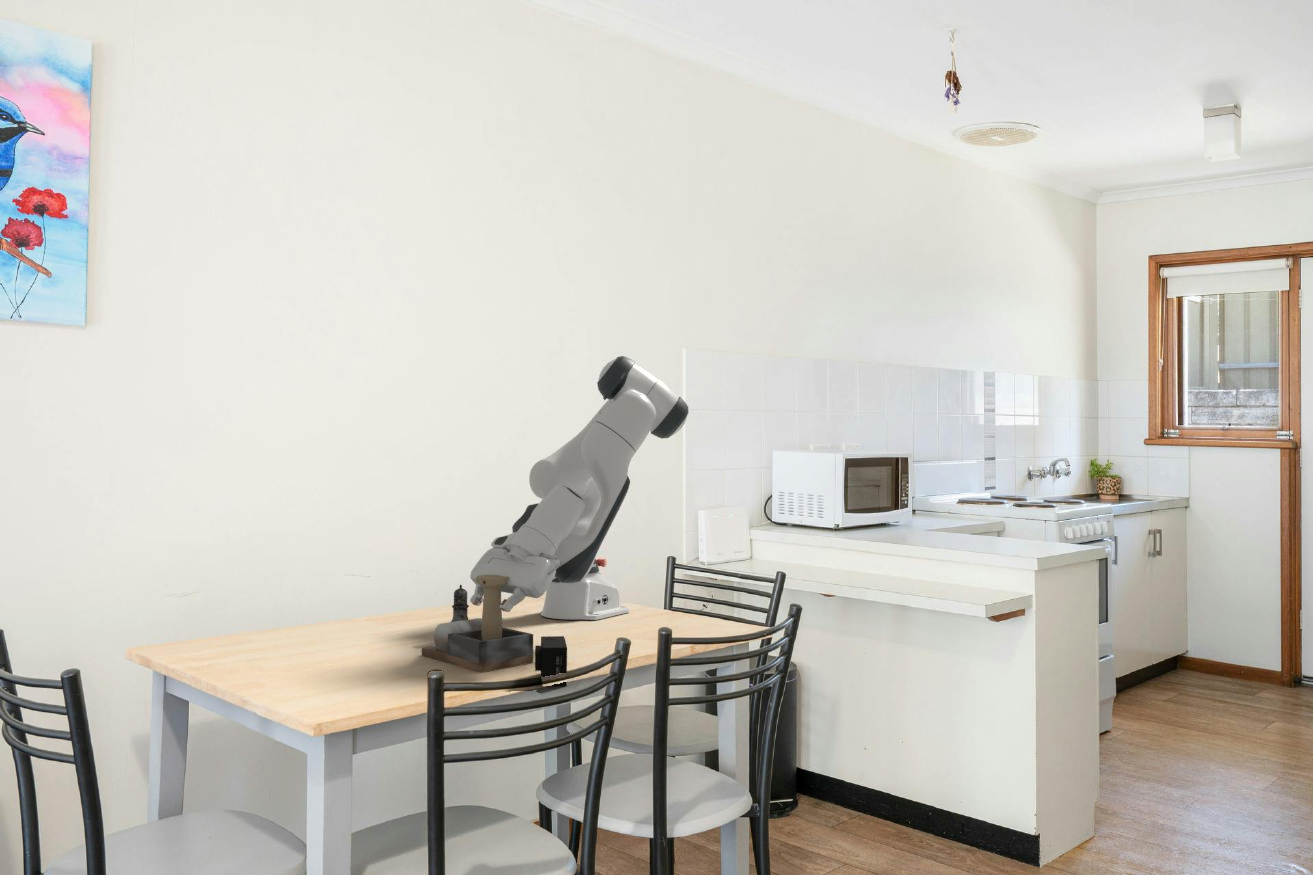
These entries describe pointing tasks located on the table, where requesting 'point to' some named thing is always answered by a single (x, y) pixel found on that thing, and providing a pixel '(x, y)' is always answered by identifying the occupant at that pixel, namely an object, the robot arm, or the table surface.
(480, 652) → the base
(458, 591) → the dark grey chess piece
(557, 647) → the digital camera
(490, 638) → the handle
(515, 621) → the table surface
